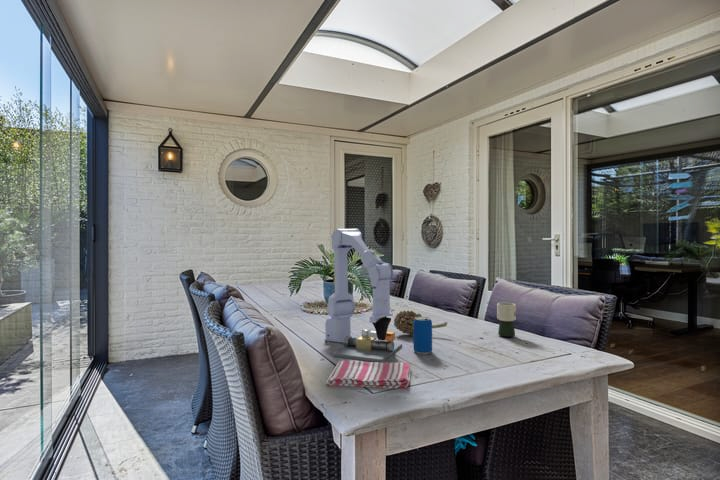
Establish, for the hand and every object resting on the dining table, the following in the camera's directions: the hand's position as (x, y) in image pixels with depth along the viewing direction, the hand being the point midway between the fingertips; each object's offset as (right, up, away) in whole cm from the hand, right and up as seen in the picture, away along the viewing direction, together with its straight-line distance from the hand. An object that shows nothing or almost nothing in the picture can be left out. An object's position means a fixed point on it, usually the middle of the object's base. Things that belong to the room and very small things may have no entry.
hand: (381, 339), depth 140 cm
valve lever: (-1, -1, +6) cm, 6 cm away
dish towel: (-4, -7, -18) cm, 20 cm away
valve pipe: (-4, -5, +7) cm, 10 cm away
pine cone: (+17, -5, +28) cm, 34 cm away
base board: (-4, -6, +7) cm, 10 cm away
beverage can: (+15, -6, +6) cm, 17 cm away
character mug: (+51, -5, +25) cm, 57 cm away
